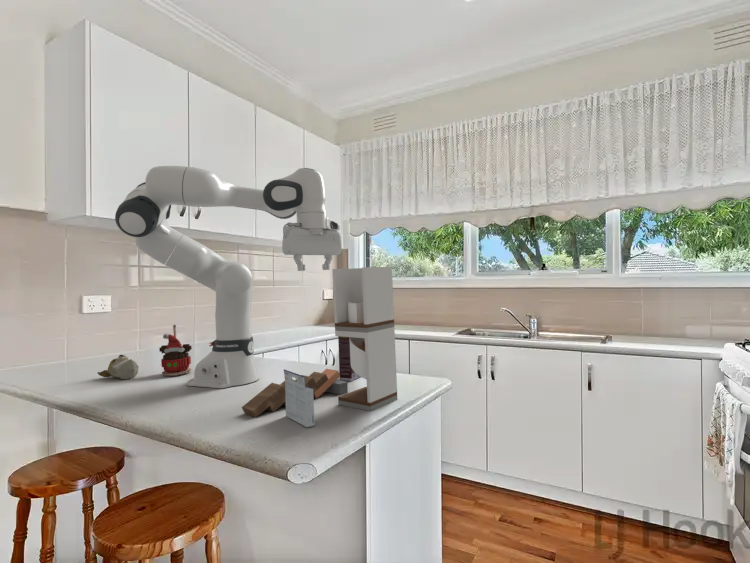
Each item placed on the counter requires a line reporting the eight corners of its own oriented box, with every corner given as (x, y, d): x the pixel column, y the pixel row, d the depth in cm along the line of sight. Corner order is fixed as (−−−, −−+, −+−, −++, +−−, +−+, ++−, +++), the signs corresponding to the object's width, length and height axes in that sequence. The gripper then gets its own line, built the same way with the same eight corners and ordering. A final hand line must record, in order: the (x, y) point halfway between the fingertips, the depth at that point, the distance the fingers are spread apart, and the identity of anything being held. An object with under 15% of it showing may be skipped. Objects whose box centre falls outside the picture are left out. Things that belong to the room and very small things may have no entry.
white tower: (366, 393, 123) (360, 268, 122) (397, 399, 116) (391, 266, 116) (338, 404, 114) (332, 269, 113) (370, 411, 107) (364, 267, 106)
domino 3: (286, 401, 112) (312, 377, 119) (274, 398, 116) (301, 374, 122) (289, 407, 113) (315, 383, 120) (277, 404, 117) (304, 380, 123)
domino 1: (252, 411, 105) (283, 385, 112) (241, 407, 109) (271, 382, 115) (256, 417, 106) (286, 391, 113) (244, 413, 109) (274, 388, 116)
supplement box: (352, 381, 137) (349, 331, 137) (339, 380, 140) (336, 330, 139) (365, 375, 145) (363, 327, 145) (353, 374, 147) (351, 327, 147)
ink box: (316, 426, 98) (313, 374, 98) (306, 428, 97) (304, 376, 97) (294, 414, 108) (291, 367, 107) (285, 416, 106) (282, 368, 106)
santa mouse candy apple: (195, 370, 165) (193, 322, 165) (188, 376, 156) (186, 325, 156) (165, 372, 164) (163, 324, 163) (156, 378, 154) (154, 327, 154)
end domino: (314, 392, 119) (337, 370, 126) (302, 390, 123) (326, 368, 129) (316, 398, 120) (340, 376, 127) (305, 395, 123) (328, 374, 130)
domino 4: (300, 396, 116) (325, 373, 122) (289, 394, 119) (314, 371, 126) (303, 402, 117) (328, 379, 123) (292, 399, 120) (316, 377, 127)
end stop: (339, 394, 123) (339, 384, 123) (316, 389, 130) (316, 379, 130) (347, 392, 125) (347, 381, 125) (324, 387, 132) (324, 377, 132)
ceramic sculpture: (115, 357, 149) (94, 357, 158) (116, 383, 149) (95, 381, 157) (146, 352, 158) (124, 352, 167) (147, 376, 158) (126, 375, 166)
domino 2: (269, 405, 109) (298, 381, 116) (258, 402, 112) (287, 378, 119) (273, 412, 110) (301, 387, 116) (261, 408, 113) (289, 384, 120)
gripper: (289, 220, 121) (292, 270, 122) (343, 224, 136) (345, 269, 137) (276, 223, 126) (278, 271, 126) (330, 226, 141) (332, 270, 141)
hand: (314, 270), depth 131 cm, fingers open, 8 cm apart
